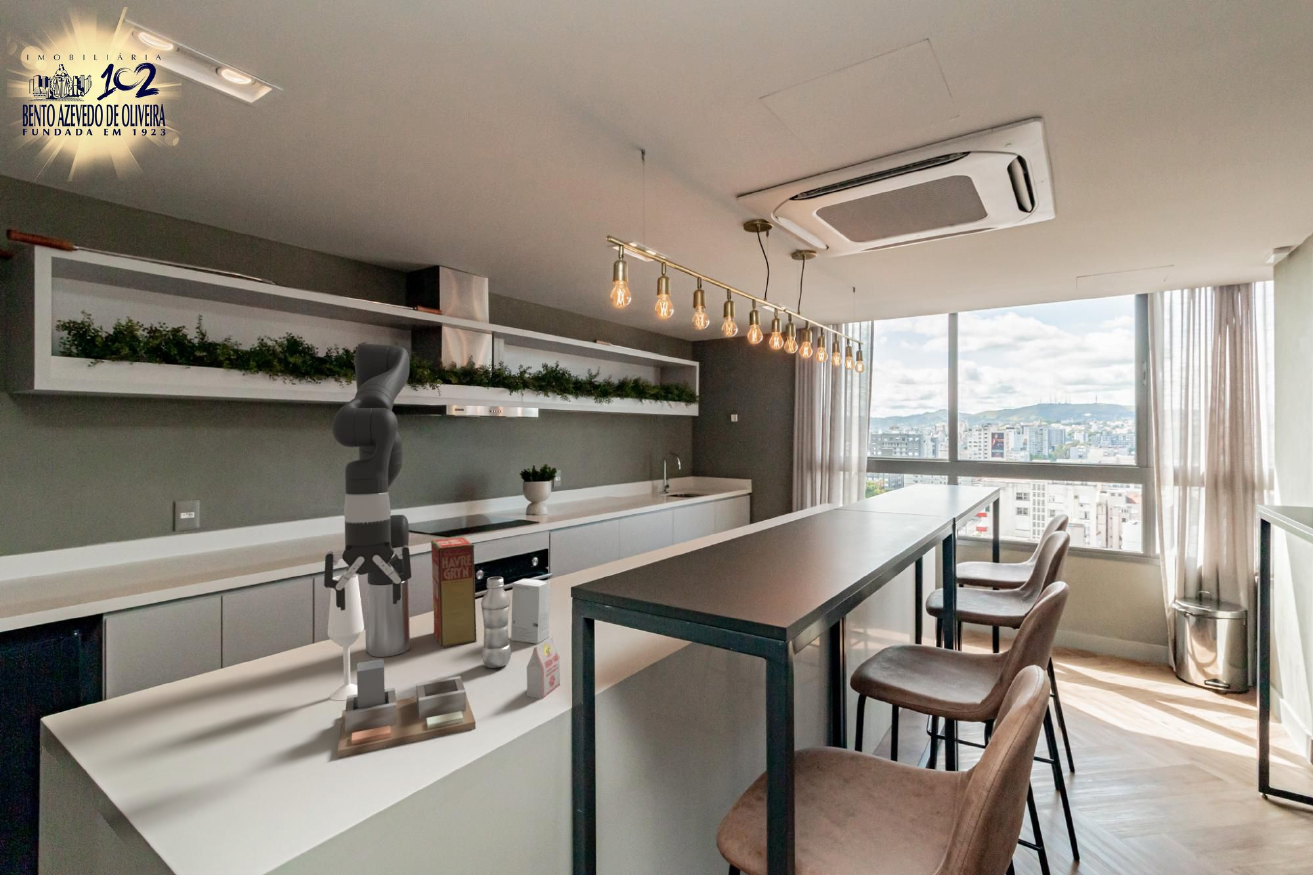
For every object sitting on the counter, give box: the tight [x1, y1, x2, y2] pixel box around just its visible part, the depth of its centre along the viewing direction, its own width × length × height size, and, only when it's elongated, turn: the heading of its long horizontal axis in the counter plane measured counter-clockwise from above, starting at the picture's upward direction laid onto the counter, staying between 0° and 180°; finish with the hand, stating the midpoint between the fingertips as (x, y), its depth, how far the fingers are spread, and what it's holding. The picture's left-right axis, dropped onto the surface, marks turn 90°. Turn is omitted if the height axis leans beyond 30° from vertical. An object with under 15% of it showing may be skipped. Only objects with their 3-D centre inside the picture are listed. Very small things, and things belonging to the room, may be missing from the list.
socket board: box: [337, 675, 476, 759], centre depth 111 cm, size 22×16×5 cm
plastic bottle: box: [480, 576, 512, 669], centre depth 138 cm, size 6×7×20 cm
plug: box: [356, 658, 386, 709], centre depth 110 cm, size 4×4×10 cm
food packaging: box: [430, 536, 477, 649], centre depth 157 cm, size 13×9×25 cm
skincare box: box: [510, 578, 551, 645], centre depth 155 cm, size 8×6×15 cm
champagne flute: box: [327, 574, 365, 701], centre depth 124 cm, size 7×7×24 cm
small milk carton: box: [526, 636, 561, 699], centre depth 124 cm, size 4×7×10 cm, turn 160°
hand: (369, 606), depth 110 cm, fingers open, 8 cm apart
